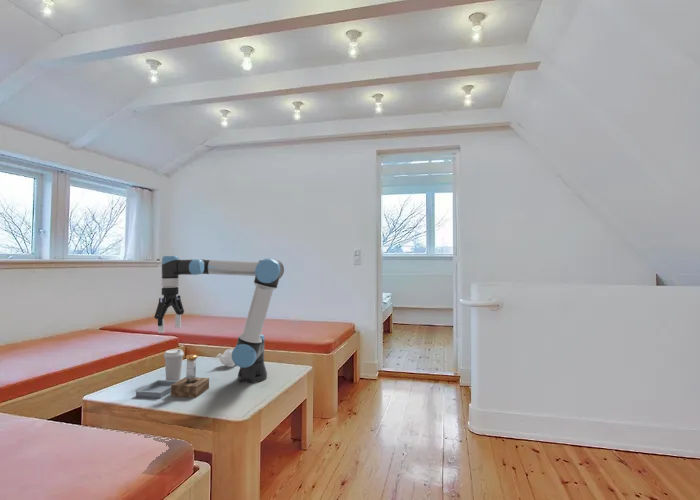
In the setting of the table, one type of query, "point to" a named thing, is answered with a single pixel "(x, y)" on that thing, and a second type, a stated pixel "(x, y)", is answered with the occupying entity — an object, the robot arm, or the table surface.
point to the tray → (156, 389)
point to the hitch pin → (191, 369)
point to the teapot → (226, 358)
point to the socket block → (189, 387)
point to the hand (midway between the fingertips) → (169, 330)
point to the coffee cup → (173, 364)
